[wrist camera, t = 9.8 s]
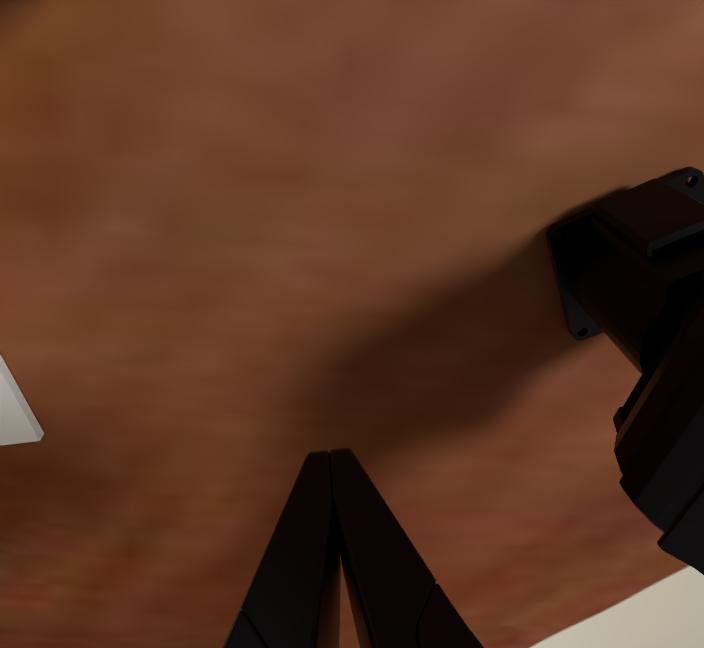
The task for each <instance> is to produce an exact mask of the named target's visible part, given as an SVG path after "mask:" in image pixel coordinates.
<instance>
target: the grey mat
mask: <svg viewBox="0 0 704 648" xmlns="http://www.w3.org/2000/svg"><path fill="white" fill-rule="evenodd" d="M43 435H44V432H43V430H42V429H41V427H40V425H39V423H38V421H37V420H36V418H35V416H34V414H33V412H32V411H31V409H30V407H29V405H28V403H27V402H26V400H25V398H24V396H23V394H22V393H21V391H20V389H19V387H18V385H17V384H16V382H15V380H14V378H13V376H12V375H11V373H10V371H9V369H8V367H7V366H6V364H5V362H4V360H3V358H2V357H1V355H0V445H9V444H17V443H26V442H34V441H40V440H41V438H42V437H43Z"/></svg>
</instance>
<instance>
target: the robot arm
mask: <svg viewBox="0 0 704 648" xmlns="http://www.w3.org/2000/svg"><path fill="white" fill-rule="evenodd" d="M691 176H692V178H691V180H690V182H689V183H687V184H686V181H687V179H688V178H689V177H691ZM560 232H563V235H562V236H561V237H560V238H558V239H556V236H557V234H558V233H560ZM546 239H547V243H548V247H549V251H550V255H551V259H552V263H553V267H554V272H555V276H556V280H557V284H558V288H559V292H560V296H561V301H562V305H563V309H564V313H565V317H566V321H567V325H568V329H569V332H570V334H571V335H572V337H573V338H574V339H576V340H584V339H587V338H590V337H592V336H595V335H597V334H600V333H602V332H604V333H605V334H606V335H607V336H608V337H609V338H610V340H611V341H612V342H613V343H614V344H615V345H616V346H617V347H618V348H619V350H620V351H621V352H622V353H623V354H624V355H625V356H626V357H627V359H628V360H629V361H630V362H631V363H632V364H633V365H634V366H635V367H636V369H637V370H638V371H639V372H640V373H641V374H642V376H641V377H640V379H639V381H638V382H637V384H636V386H635V387H634V389H633V391H632V392H631V394H630V396H629V397H628V399H627V401H626V402H625V404H624V406H623V407H619V409H618V410H617V412H616V414H615V415H614V417H613V421H614V425H615V428H616V432H617V435H616V441H615V448H614V452H615V455H616V458H617V461H618V464H619V467H620V470H621V472H622V474H623V476H622V477H621V479H620V485H621V487H622V488H623V490H624V491H625V493H626V494H627V495H628V497H629V498H630V499H631V501H632V502H633V503H634V505H635V506H636V507H637V508H638V509H639V510H640V511H641V512H642V513H643V515H644V516H645V517H646V518H647V519H648V520H649V521H650V522H651V523H652V524H653V525H655V526H656V527H657V528H658V529H660V530H661V531H662V532H663V533H664V534H663V535H662V536H661V537H660V539H659V540H658V541H657V544H658V546H659V547H660V548H661V549H662V550H663V551H665V552H667V553H669V554H670V555H672V556H674V557H676V558H677V559H679V560H681V561H683V562H685V563H686V564H688V565H690V566H692V567H693V568H695V569H696V570H698V571H699V572H700V573H702V574H703V575H704V175H703V172H702V171H700V170H698V169H696V168H694V167H686V168H683V169H681V170H679V171H676V172H674V173H672V174H669V175H667V176H665V177H662V178H660V179H658V180H657V179H652V180H650V181H648V182H645V183H643V184H641V185H638V186H636V187H634V188H631V189H629V190H627V191H624V192H622V193H620V194H617V195H615V196H613V197H610V198H608V199H606V200H603V201H601V202H599V203H597V204H596V205H595V206H594V207H593V208H590V209H588V210H586V211H583V212H581V213H579V214H576V215H574V216H572V217H569V218H567V219H565V220H562V221H560V222H558V223H555V224H554V225H552V226H551V227H550V228H549V229H548V231H547V234H546ZM581 328H583V329H582V330H581V331H579V329H581ZM578 331H579V332H578ZM339 547H340V548H339ZM340 555H341V562H342V567H343V573H344V577H345V582H346V586H347V591H348V596H349V600H350V605H351V609H352V614H353V618H354V623H355V627H356V632H357V636H358V641H359V645H360V648H484V647H483V646H482V644H481V643H480V642H479V641H478V639H477V638H476V637H475V635H474V634H473V633H472V632H471V630H470V629H469V628H468V626H467V625H466V624H465V622H464V621H463V619H462V618H461V616H460V615H459V613H458V612H457V611H456V609H455V608H454V606H453V605H452V603H451V602H450V600H449V599H448V597H447V596H446V594H445V593H444V591H443V590H442V588H441V587H440V585H439V584H436V579H435V578H434V576H433V575H432V573H431V572H430V570H429V569H428V567H427V566H426V564H425V562H424V561H423V559H422V558H421V556H420V555H419V553H418V552H417V550H416V549H415V547H414V546H413V544H412V542H411V541H410V539H409V538H408V536H407V535H406V533H405V532H404V530H403V529H402V527H401V525H400V524H399V522H398V521H397V519H396V518H395V516H394V515H393V513H392V512H391V510H390V509H389V507H388V505H387V504H386V502H385V501H384V499H383V498H382V496H381V495H380V493H379V492H378V490H377V489H376V487H375V485H374V484H373V482H372V481H371V479H370V478H369V476H368V475H367V473H366V472H365V470H364V469H363V467H362V465H361V464H360V462H359V461H358V459H357V458H356V456H355V455H354V453H353V452H352V450H351V449H350V448H340V449H333V450H331V451H330V453H329V452H328V451H326V450H324V451H316V452H310V453H308V455H307V456H306V458H305V461H304V463H303V465H302V467H301V470H300V472H299V474H298V477H297V479H296V481H295V484H294V486H293V488H292V490H291V493H290V495H289V497H288V500H287V502H286V504H285V507H284V509H283V511H282V513H281V516H280V518H279V520H278V523H277V525H276V527H275V530H274V532H273V534H272V536H271V539H270V541H269V543H268V546H267V548H266V550H265V553H264V555H263V557H262V559H261V562H260V564H259V566H258V569H257V571H256V573H255V576H254V578H253V580H252V582H251V585H250V587H249V589H248V592H247V594H246V596H245V599H244V601H243V603H242V605H241V611H239V612H238V614H237V616H236V619H235V621H234V623H233V626H232V628H231V630H230V632H229V635H228V637H227V639H226V641H225V643H224V645H223V647H222V648H339V627H340V582H341V562H340Z"/></svg>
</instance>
